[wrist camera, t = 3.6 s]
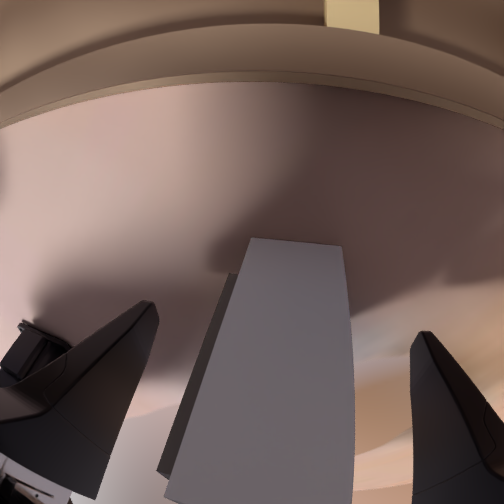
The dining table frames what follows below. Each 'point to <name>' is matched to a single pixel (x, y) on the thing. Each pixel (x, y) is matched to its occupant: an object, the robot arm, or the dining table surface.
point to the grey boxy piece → (270, 387)
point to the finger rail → (252, 49)
